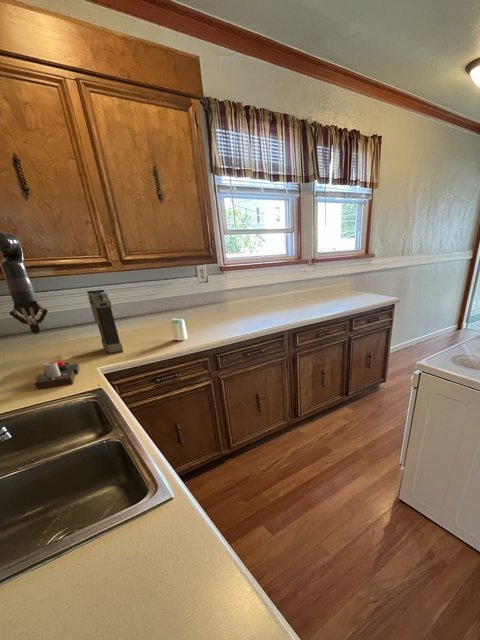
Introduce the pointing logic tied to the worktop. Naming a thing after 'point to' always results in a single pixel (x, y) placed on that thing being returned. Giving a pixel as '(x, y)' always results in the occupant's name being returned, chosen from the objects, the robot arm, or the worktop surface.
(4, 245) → the robot arm
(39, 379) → the panel
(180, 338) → the can
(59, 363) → the power button
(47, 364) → the white cup
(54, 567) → the worktop surface
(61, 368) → the switch block
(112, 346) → the device
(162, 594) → the worktop surface
